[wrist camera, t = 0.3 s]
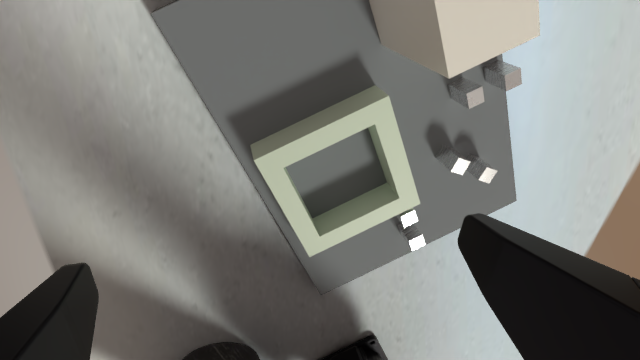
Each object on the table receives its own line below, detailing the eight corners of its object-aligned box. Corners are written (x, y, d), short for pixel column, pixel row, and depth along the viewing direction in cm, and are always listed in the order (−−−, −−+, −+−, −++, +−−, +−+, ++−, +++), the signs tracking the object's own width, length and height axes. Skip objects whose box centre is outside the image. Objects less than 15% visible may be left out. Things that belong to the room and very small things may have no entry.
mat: (507, 194, 30) (516, 200, 30) (317, 286, 30) (321, 295, 29) (470, -139, 18) (482, -144, 18) (153, 11, 18) (150, 13, 17)
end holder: (407, 188, 26) (420, 203, 25) (303, 238, 26) (309, 257, 24) (375, 85, 22) (388, 95, 20) (250, 144, 22) (253, 160, 20)
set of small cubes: (510, 180, 28) (529, 194, 27) (400, 233, 28) (412, 250, 27) (498, 60, 23) (520, 67, 21) (362, 125, 23) (374, 138, 21)
